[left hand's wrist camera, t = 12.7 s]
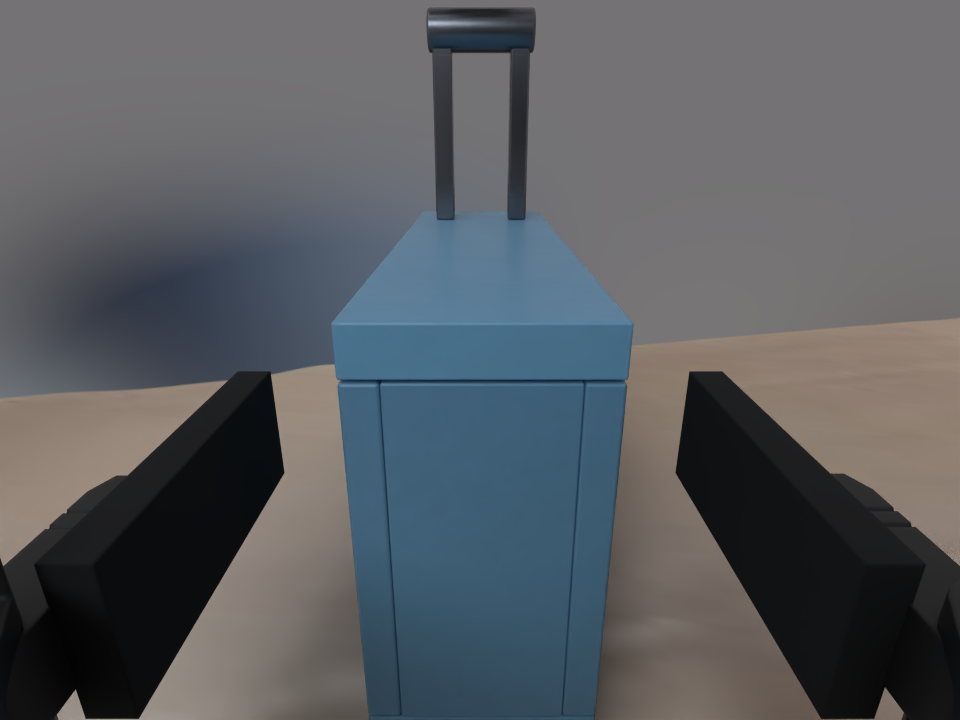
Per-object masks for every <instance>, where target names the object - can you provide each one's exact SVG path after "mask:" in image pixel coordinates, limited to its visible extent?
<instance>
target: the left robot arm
mask: <svg viewBox="0 0 960 720" xmlns="http://www.w3.org/2000/svg"><path fill="white" fill-rule="evenodd" d="M283 474H284V466H283V459H282V452H281V445H280V437H279V430H278V423H277V416H276V408H275V401H274V394H273V387H272V380H271V372H237V373H236V374H235V375H234V376H233V377H232V378H231V379H229V380H228V381H227V382H226V383H225V384H224V385H223V386H222V387H221V388H220V389H219V390H218V391H217V392H216V393H215V394H214V395H213V396H211V397H210V398H209V399H208V400H207V401H206V402H205V403H204V404H203V405H202V406H201V407H200V408H199V409H198V410H197V411H196V412H195V413H193V414H192V415H191V416H190V417H189V418H188V419H187V420H186V421H185V422H184V423H183V424H182V425H181V426H180V427H179V428H178V429H177V430H175V431H174V432H173V433H172V434H171V435H170V436H169V437H168V438H167V439H166V440H165V441H164V442H163V443H162V444H161V445H160V446H159V447H157V448H156V449H155V450H154V451H153V452H152V453H151V454H150V455H149V456H148V457H147V458H146V459H145V460H144V461H143V462H142V463H141V464H139V465H138V466H137V467H136V468H135V469H134V470H133V471H132V472H131V473H130V474H129V475H128V476H115V477H113V478H111V479H110V480H108V481H106V482H104V483H102V484H100V485H99V486H97V487H95V488H93V489H91V490H89V491H88V492H87V493H85V494H84V495H83V496H82V497H81V498H80V499H79V500H78V501H76V502H75V503H74V504H73V505H72V506H71V507H70V508H69V509H67V513H66V514H62V515H61V516H60V517H58V518H57V519H56V520H55V521H54V522H53V523H52V524H51V525H50V528H49V529H45V530H44V531H43V532H42V533H40V534H39V535H38V536H37V537H36V538H35V539H34V540H33V541H31V542H30V543H29V544H28V545H27V546H26V547H25V548H24V549H22V550H21V551H20V552H19V553H18V554H17V555H16V556H15V557H13V558H12V559H11V560H10V561H9V562H8V563H7V564H6V565H4V566H3V565H2V562H1V559H0V720H58V717H57V714H58V712H59V711H60V710H61V708H62V707H63V705H64V704H65V703H66V701H67V700H68V699H69V697H70V696H71V695H72V693H73V692H74V691H75V689H76V691H77V694H78V697H79V700H80V703H81V706H82V709H83V712H84V715H85V718H86V719H139V717H140V716H141V714H142V712H143V711H144V709H145V707H146V706H147V704H148V702H149V701H150V699H151V697H152V695H153V694H154V692H155V690H156V689H157V687H158V685H159V684H160V682H161V680H162V679H163V677H164V675H165V674H166V672H167V670H168V668H169V667H170V665H171V663H172V662H173V660H174V658H175V657H176V655H177V653H178V652H179V650H180V648H181V647H182V645H183V643H184V641H185V640H186V638H187V636H188V635H189V633H190V631H191V630H192V628H193V626H194V625H195V623H196V621H197V620H198V618H199V616H200V614H201V613H202V611H203V609H204V608H205V606H206V604H207V603H208V601H209V599H210V598H211V596H212V594H213V593H214V591H215V589H216V587H217V586H218V584H219V582H220V581H221V579H222V577H223V576H224V574H225V572H226V571H227V569H228V567H229V566H230V564H231V562H232V560H233V559H234V557H235V555H236V554H237V552H238V550H239V549H240V547H241V545H242V544H243V542H244V540H245V539H246V537H247V535H248V533H249V532H250V530H251V528H252V527H253V525H254V523H255V522H256V520H257V518H258V517H259V515H260V513H261V512H262V510H263V508H264V506H265V505H266V503H267V501H268V500H269V498H270V496H271V495H272V493H273V491H274V490H275V488H276V486H277V485H278V483H279V481H280V479H281V478H282V476H283ZM676 474H677V476H678V478H679V479H680V481H681V483H682V485H683V486H684V488H685V490H686V491H687V493H688V495H689V496H690V498H691V500H692V501H693V503H694V505H695V506H696V508H697V510H698V512H699V513H700V515H701V517H702V518H703V520H704V522H705V523H706V525H707V527H708V528H709V530H710V532H711V533H712V535H713V537H714V539H715V540H716V542H717V544H718V545H719V547H720V549H721V550H722V552H723V554H724V555H725V557H726V559H727V560H728V562H729V564H730V566H731V567H732V569H733V571H734V572H735V574H736V576H737V577H738V579H739V581H740V582H741V584H742V586H743V587H744V589H745V591H746V593H747V594H748V596H749V598H750V599H751V601H752V603H753V604H754V606H755V608H756V609H757V611H758V613H759V614H760V616H761V618H762V620H763V621H764V623H765V625H766V626H767V628H768V630H769V631H770V633H771V635H772V636H773V638H774V640H775V641H776V643H777V645H778V647H779V648H780V650H781V652H782V653H783V655H784V657H785V658H786V660H787V662H788V663H789V665H790V667H791V668H792V670H793V672H794V674H795V675H796V677H797V679H798V680H799V682H800V684H801V685H802V687H803V689H804V690H805V692H806V694H807V695H808V697H809V699H810V701H811V702H812V704H813V706H814V707H815V709H816V711H817V712H818V714H819V716H820V717H821V719H874V718H875V715H876V712H877V709H878V706H879V703H880V700H881V697H882V694H883V691H884V688H885V687H886V689H887V690H888V692H889V693H890V694H891V696H892V697H893V698H894V700H895V701H896V702H897V704H898V705H899V706H900V708H901V709H902V710H903V712H904V714H903V717H902V720H960V566H959V565H958V564H957V563H956V562H954V561H953V560H952V559H951V558H950V557H949V556H948V555H947V554H945V553H944V552H943V551H942V550H941V549H940V548H939V547H937V546H936V545H935V544H934V543H933V542H932V541H931V540H930V539H928V538H927V537H926V536H925V535H924V534H923V533H922V532H920V531H919V530H918V529H917V528H916V527H911V523H910V522H909V521H908V520H907V519H906V518H905V517H903V516H902V515H901V514H900V513H899V512H898V511H894V508H893V507H892V506H891V505H890V504H889V503H888V502H886V501H885V500H884V499H883V498H882V497H881V496H880V495H879V494H877V493H876V492H875V491H874V490H873V489H871V488H869V487H867V486H866V485H864V484H862V483H860V482H858V481H856V480H855V479H853V478H851V477H849V476H847V475H845V474H830V473H829V472H828V471H827V470H826V469H825V468H824V467H823V466H822V465H821V464H819V463H818V462H817V461H816V460H815V459H814V458H813V457H812V456H811V455H810V454H809V453H808V452H807V451H806V450H805V449H804V448H803V447H801V446H800V445H799V444H798V443H797V442H796V441H795V440H794V439H793V438H792V437H791V436H790V435H789V434H788V433H787V432H786V431H785V430H783V429H782V428H781V427H780V426H779V425H778V424H777V423H776V422H775V421H774V420H773V419H772V418H771V417H770V416H769V415H768V414H767V413H766V412H764V411H763V410H762V409H761V408H760V407H759V406H758V405H757V404H756V403H755V402H754V401H753V400H752V399H751V398H750V397H749V396H748V395H746V394H745V393H744V392H743V391H742V390H741V389H740V388H739V387H738V386H737V385H736V384H735V383H734V382H733V381H732V380H731V379H730V378H728V377H727V376H726V375H725V374H724V373H723V372H689V380H688V387H687V394H686V401H685V409H684V416H683V423H682V430H681V437H680V445H679V452H678V459H677V466H676Z"/></svg>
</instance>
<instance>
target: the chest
mask: <svg viewBox="0 0 960 720" xmlns="http://www.w3.org/2000/svg"><path fill="white" fill-rule="evenodd" d="M626 392H627V384H626V382H625V381H624V380H340V382H339V384H338V396H339V406H340V417H341V428H342V438H343V449H344V459H345V470H346V481H347V491H348V502H349V512H350V523H351V533H352V544H353V555H354V565H355V576H356V586H357V597H358V607H359V618H360V629H361V639H362V650H363V660H364V671H365V682H366V692H367V703H368V712H369V720H594V718H595V716H594V714H595V710H596V699H597V689H598V679H599V669H600V658H601V648H602V638H603V628H604V617H605V607H606V597H607V587H608V576H609V566H610V556H611V546H612V535H613V525H614V515H615V505H616V494H617V484H618V474H619V464H620V453H621V443H622V433H623V423H624V412H625V402H626Z"/></svg>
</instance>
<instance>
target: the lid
mask: <svg viewBox="0 0 960 720" xmlns="http://www.w3.org/2000/svg"><path fill="white" fill-rule="evenodd" d="M535 33H536V12H535V9H534V8H533V7H430V8H428V9H427V42H428V50H429V52H430V53H432V58H433V97H434V136H435V173H436V174H435V175H436V212H423V213H422V214H421V216H420V217H419V218H418V219H417V221H416V222H415V223H414V224H413V225H412V227H411V228H410V229H409V230H408V231H407V233H406V234H405V235H404V236H403V237H402V239H401V240H400V241H399V242H398V243H397V245H396V246H395V247H394V248H393V250H392V251H391V252H390V253H389V254H388V256H387V257H386V258H385V259H384V260H383V262H382V263H381V264H380V265H379V266H378V268H377V269H376V270H375V271H374V273H373V274H372V275H371V276H370V277H369V279H368V280H367V281H366V282H365V283H364V285H363V286H362V287H361V288H360V289H359V291H358V292H357V293H356V294H355V295H354V297H353V298H352V299H351V300H350V302H349V303H348V304H347V305H346V306H345V308H344V309H343V310H342V311H341V312H340V314H339V315H338V316H337V317H336V318H335V320H334V321H333V322H332V324H331V327H332V338H333V348H334V359H335V369H336V378H337V379H338V380H627V379H628V375H629V365H630V355H631V345H632V334H633V322H632V321H631V320H630V319H629V318H628V317H627V315H626V314H625V313H624V312H623V311H622V310H621V308H620V307H619V306H618V305H617V304H616V302H615V301H614V300H613V299H612V298H611V297H610V295H609V294H608V293H607V292H606V291H605V290H604V288H603V287H602V286H601V285H600V284H599V283H598V281H597V280H596V279H595V278H594V277H593V275H592V274H591V273H590V272H589V271H588V270H587V268H586V267H585V266H584V265H583V264H582V263H581V261H580V260H579V259H578V258H577V257H576V256H575V254H574V253H573V252H572V251H571V250H570V248H569V247H568V246H567V245H566V244H565V243H564V241H563V240H562V239H561V238H560V237H559V236H558V234H557V233H556V232H555V231H554V230H553V229H552V227H551V226H550V225H549V224H548V223H547V222H546V220H545V219H544V218H543V217H542V216H541V214H540V213H539V212H526V180H527V144H528V106H529V70H530V53H532V52H533V50H534V46H535ZM453 53H510V71H509V132H508V194H507V212H455V184H454V117H453Z"/></svg>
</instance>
